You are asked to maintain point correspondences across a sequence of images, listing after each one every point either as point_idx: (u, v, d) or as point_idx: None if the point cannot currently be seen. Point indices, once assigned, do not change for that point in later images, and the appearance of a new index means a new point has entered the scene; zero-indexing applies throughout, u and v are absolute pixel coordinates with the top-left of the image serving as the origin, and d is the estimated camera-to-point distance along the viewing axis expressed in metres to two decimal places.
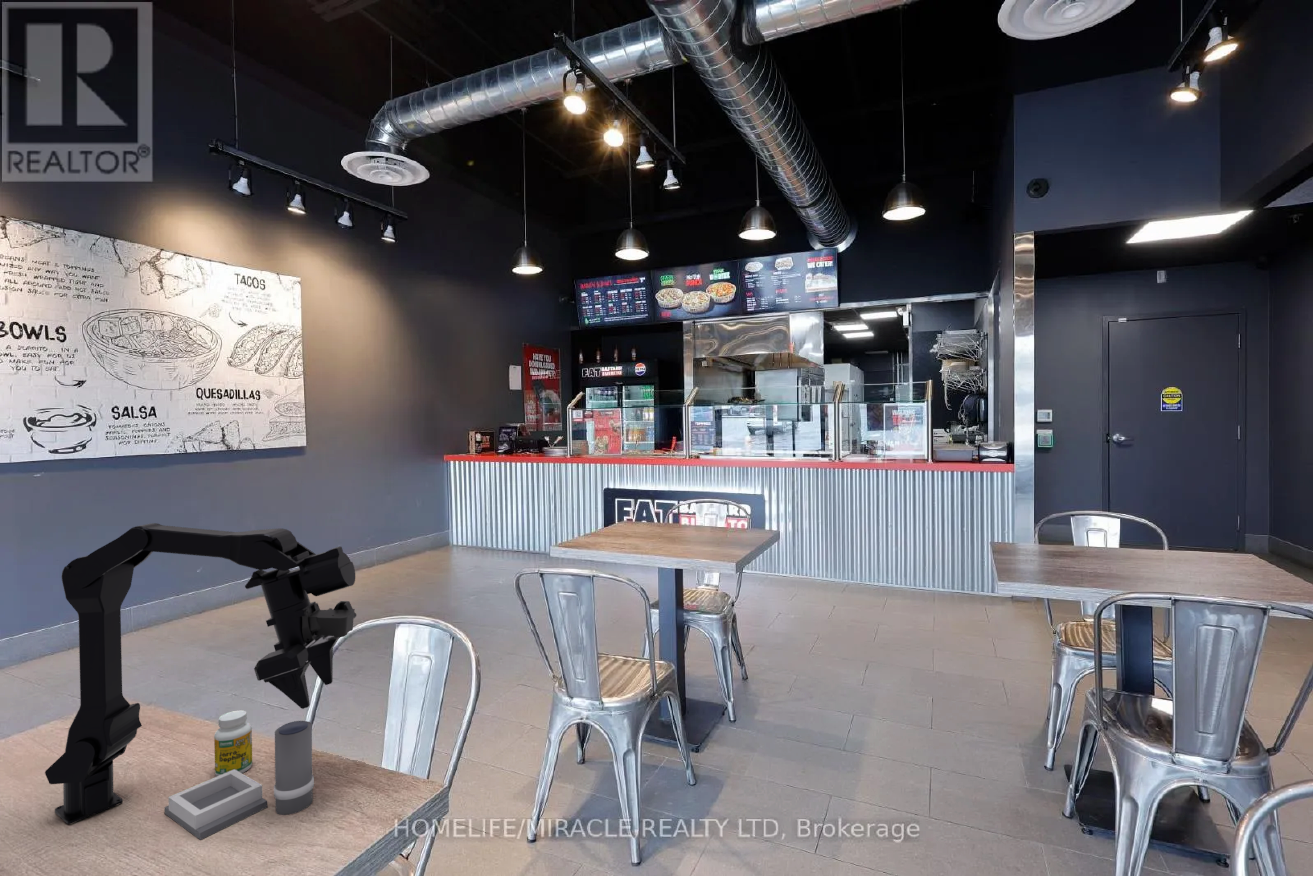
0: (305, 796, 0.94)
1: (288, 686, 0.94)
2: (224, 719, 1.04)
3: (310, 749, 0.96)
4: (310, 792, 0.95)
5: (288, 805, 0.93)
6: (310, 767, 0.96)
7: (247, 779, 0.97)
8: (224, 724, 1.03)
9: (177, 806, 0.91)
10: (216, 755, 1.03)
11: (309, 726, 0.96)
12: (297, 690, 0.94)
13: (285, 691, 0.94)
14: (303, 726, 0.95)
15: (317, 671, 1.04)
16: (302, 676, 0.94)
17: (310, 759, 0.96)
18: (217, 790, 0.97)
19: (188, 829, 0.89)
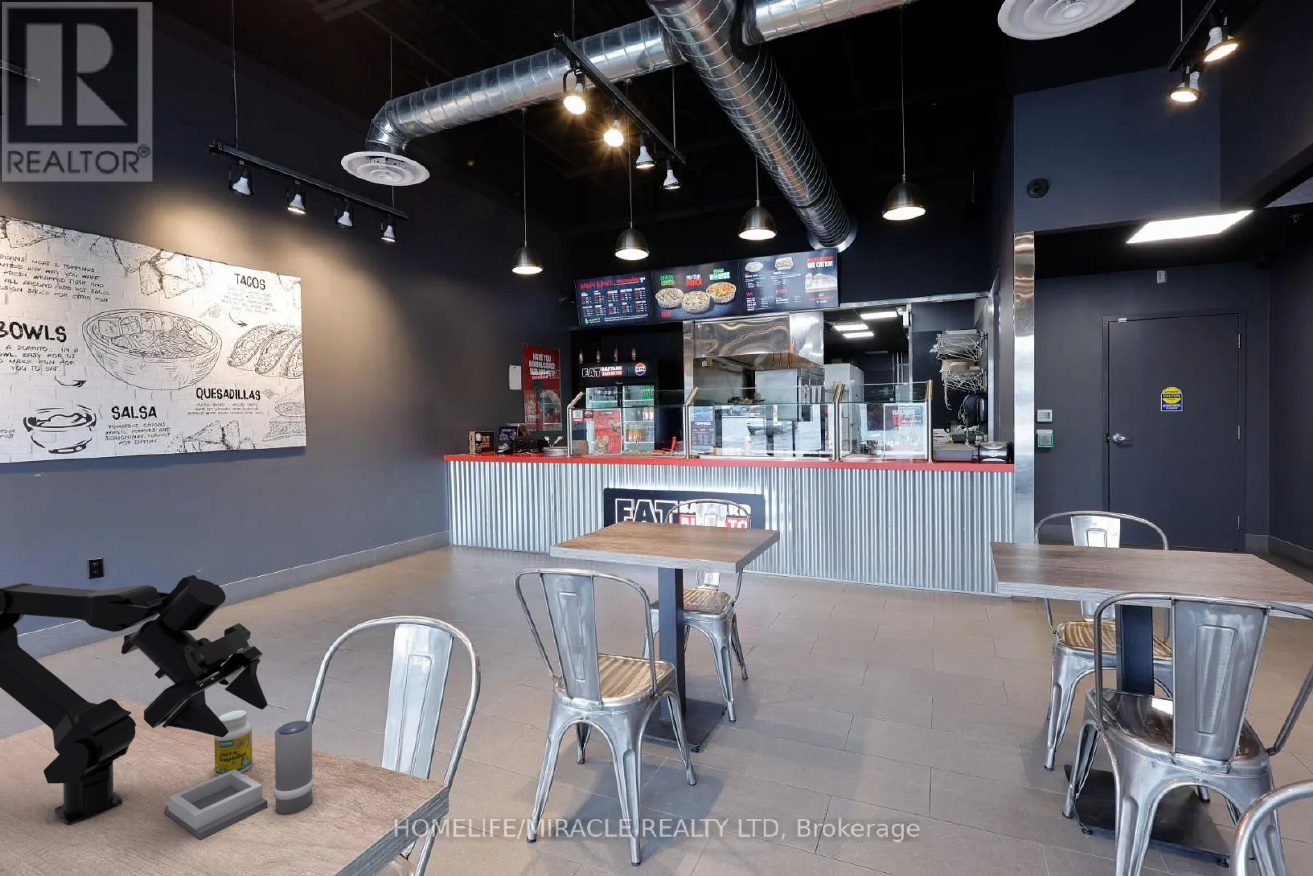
0: (305, 796, 0.94)
1: (195, 722, 0.89)
2: (224, 719, 1.04)
3: (310, 749, 0.96)
4: (310, 792, 0.95)
5: (288, 805, 0.93)
6: (310, 767, 0.96)
7: (247, 779, 0.97)
8: (224, 724, 1.03)
9: (177, 806, 0.91)
10: (216, 755, 1.03)
11: (309, 726, 0.96)
12: (205, 721, 0.90)
13: (195, 728, 0.89)
14: (303, 726, 0.95)
15: (248, 701, 1.00)
16: (202, 707, 0.89)
17: (310, 759, 0.96)
18: (217, 790, 0.97)
19: (188, 829, 0.89)
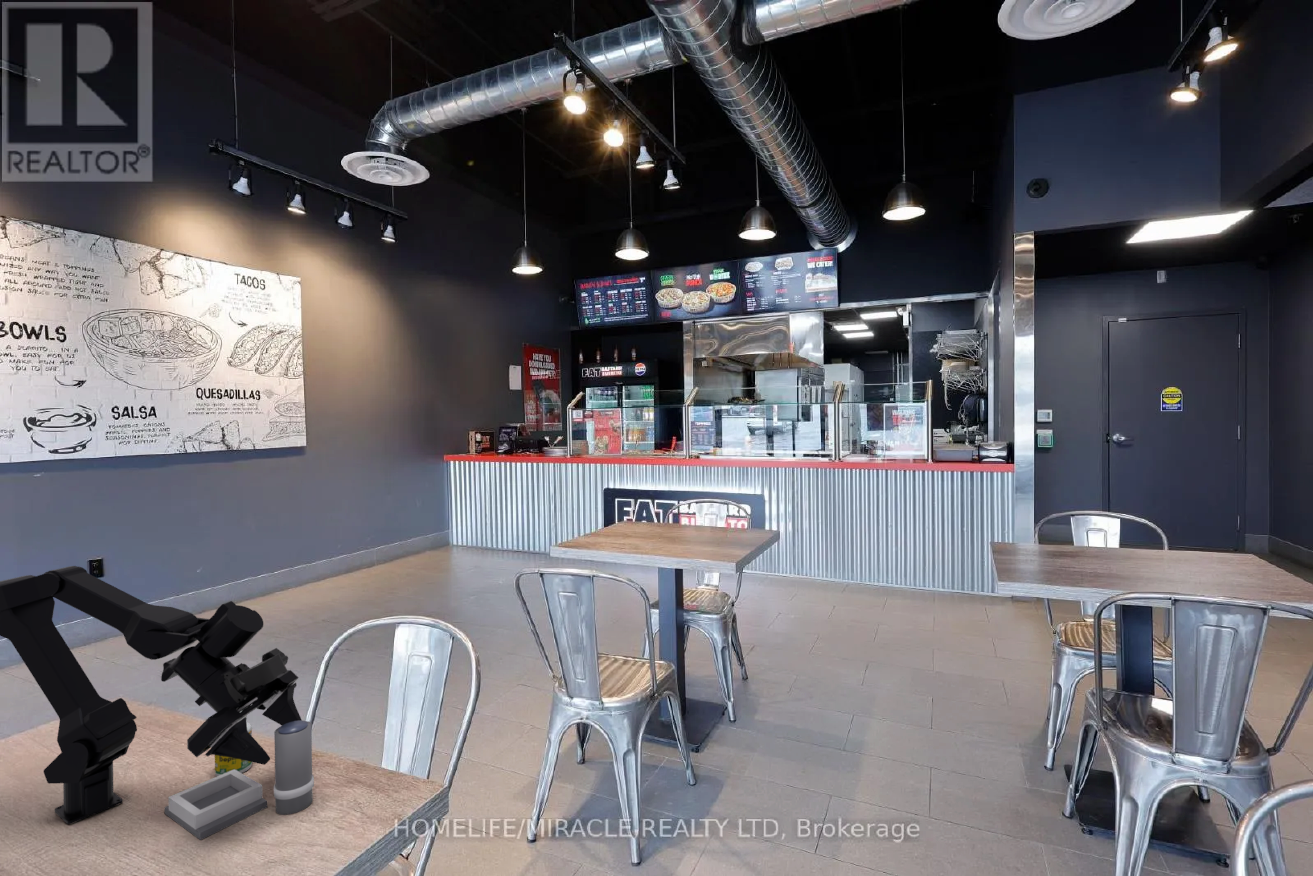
0: (304, 796, 0.94)
1: (237, 750, 0.89)
2: None
3: (310, 749, 0.96)
4: (310, 792, 0.95)
5: (288, 804, 0.93)
6: (310, 767, 0.96)
7: (247, 779, 0.97)
8: None
9: (177, 806, 0.91)
10: (216, 755, 1.03)
11: (309, 726, 0.96)
12: (247, 749, 0.90)
13: (237, 756, 0.89)
14: (303, 726, 0.95)
15: None
16: (244, 734, 0.89)
17: (310, 759, 0.96)
18: (217, 790, 0.97)
19: (188, 829, 0.89)
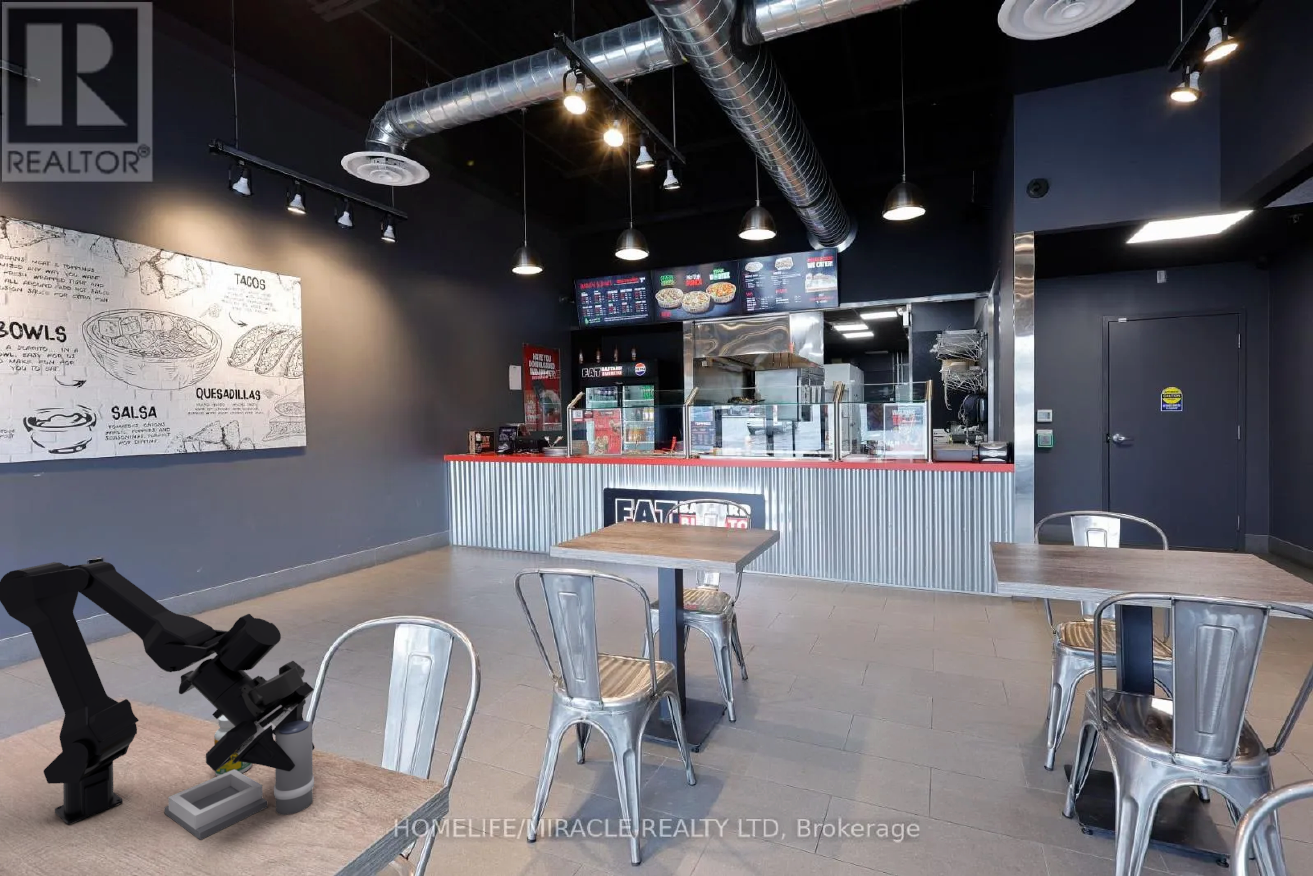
0: (305, 796, 0.94)
1: (263, 757, 0.91)
2: (224, 719, 1.04)
3: (310, 749, 0.96)
4: (310, 792, 0.95)
5: (288, 805, 0.93)
6: (310, 767, 0.96)
7: (247, 779, 0.97)
8: (225, 724, 1.03)
9: (177, 806, 0.91)
10: None
11: (310, 726, 0.96)
12: (273, 756, 0.92)
13: (263, 763, 0.91)
14: (304, 726, 0.95)
15: None
16: (270, 742, 0.91)
17: (310, 759, 0.96)
18: (217, 790, 0.97)
19: (188, 829, 0.89)
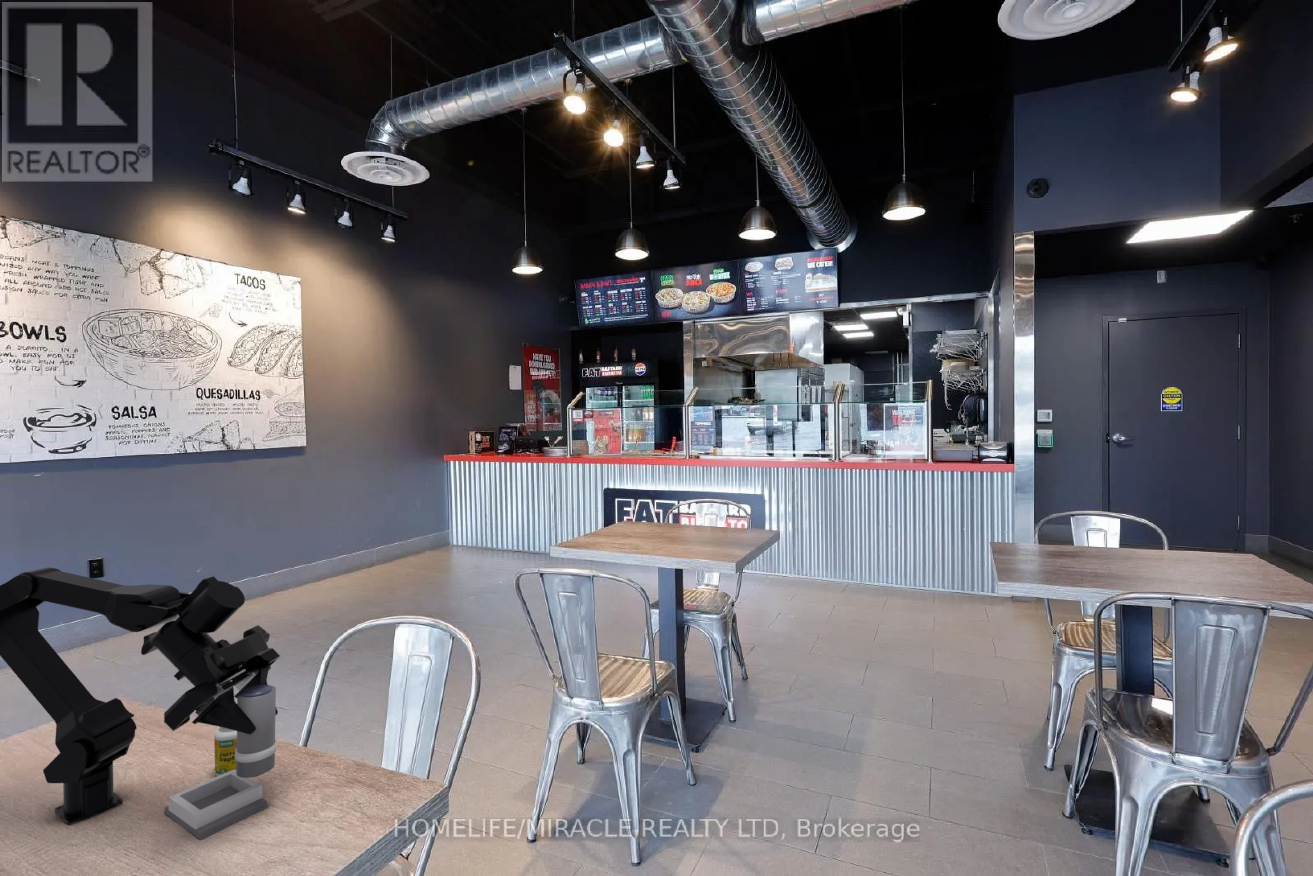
0: (266, 760, 0.94)
1: (223, 719, 0.91)
2: None
3: (273, 713, 0.95)
4: (272, 756, 0.95)
5: (248, 768, 0.92)
6: (273, 731, 0.95)
7: (247, 779, 0.97)
8: None
9: (177, 806, 0.91)
10: (216, 755, 1.03)
11: (273, 690, 0.95)
12: (234, 718, 0.91)
13: (223, 725, 0.91)
14: (267, 690, 0.95)
15: None
16: (231, 704, 0.91)
17: (273, 723, 0.95)
18: (217, 790, 0.97)
19: (188, 829, 0.89)
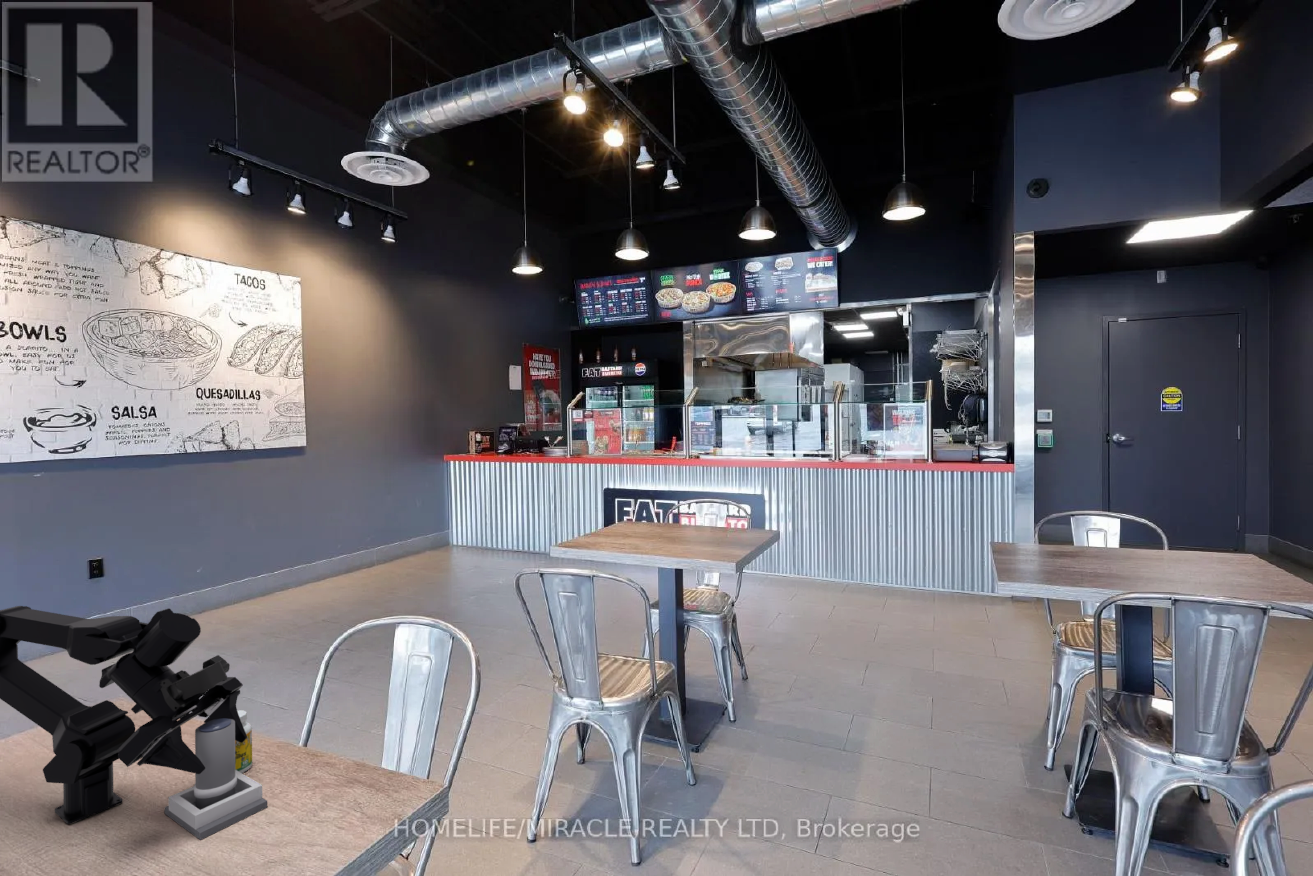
0: (225, 795, 0.93)
1: (171, 759, 0.88)
2: None
3: (232, 747, 0.94)
4: (232, 791, 0.94)
5: (207, 803, 0.92)
6: (232, 765, 0.94)
7: (247, 779, 0.97)
8: None
9: (177, 806, 0.91)
10: None
11: (232, 724, 0.95)
12: (182, 758, 0.88)
13: (171, 765, 0.88)
14: (225, 724, 0.94)
15: None
16: (178, 744, 0.88)
17: (232, 757, 0.94)
18: None
19: (188, 829, 0.89)
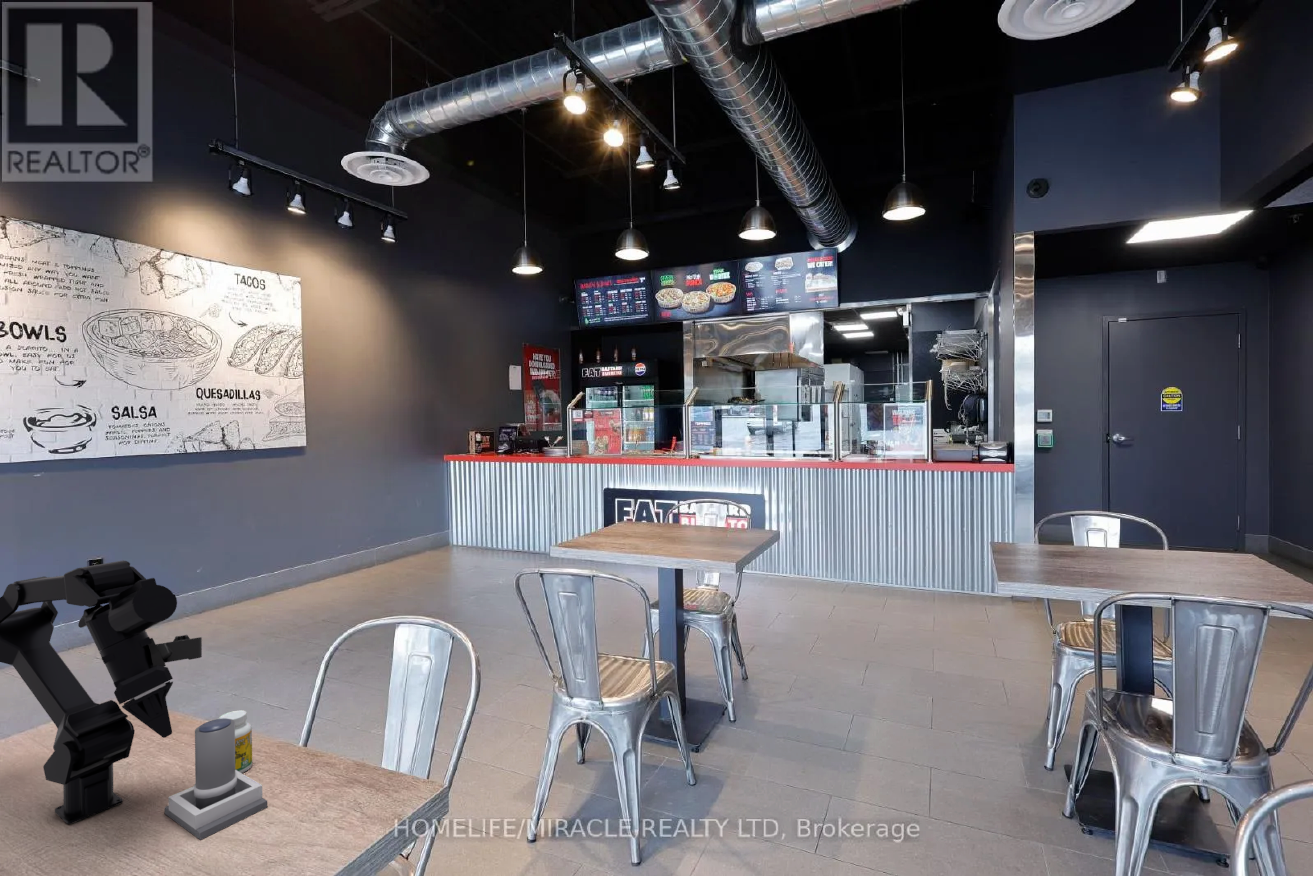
0: (225, 795, 0.93)
1: (148, 713, 0.88)
2: None
3: (232, 747, 0.94)
4: (232, 791, 0.94)
5: (207, 803, 0.92)
6: (232, 765, 0.94)
7: (247, 779, 0.97)
8: None
9: (177, 806, 0.91)
10: None
11: (231, 724, 0.95)
12: (160, 715, 0.89)
13: (145, 719, 0.88)
14: (225, 724, 0.94)
15: None
16: (165, 698, 0.90)
17: (232, 757, 0.94)
18: None
19: (188, 829, 0.89)
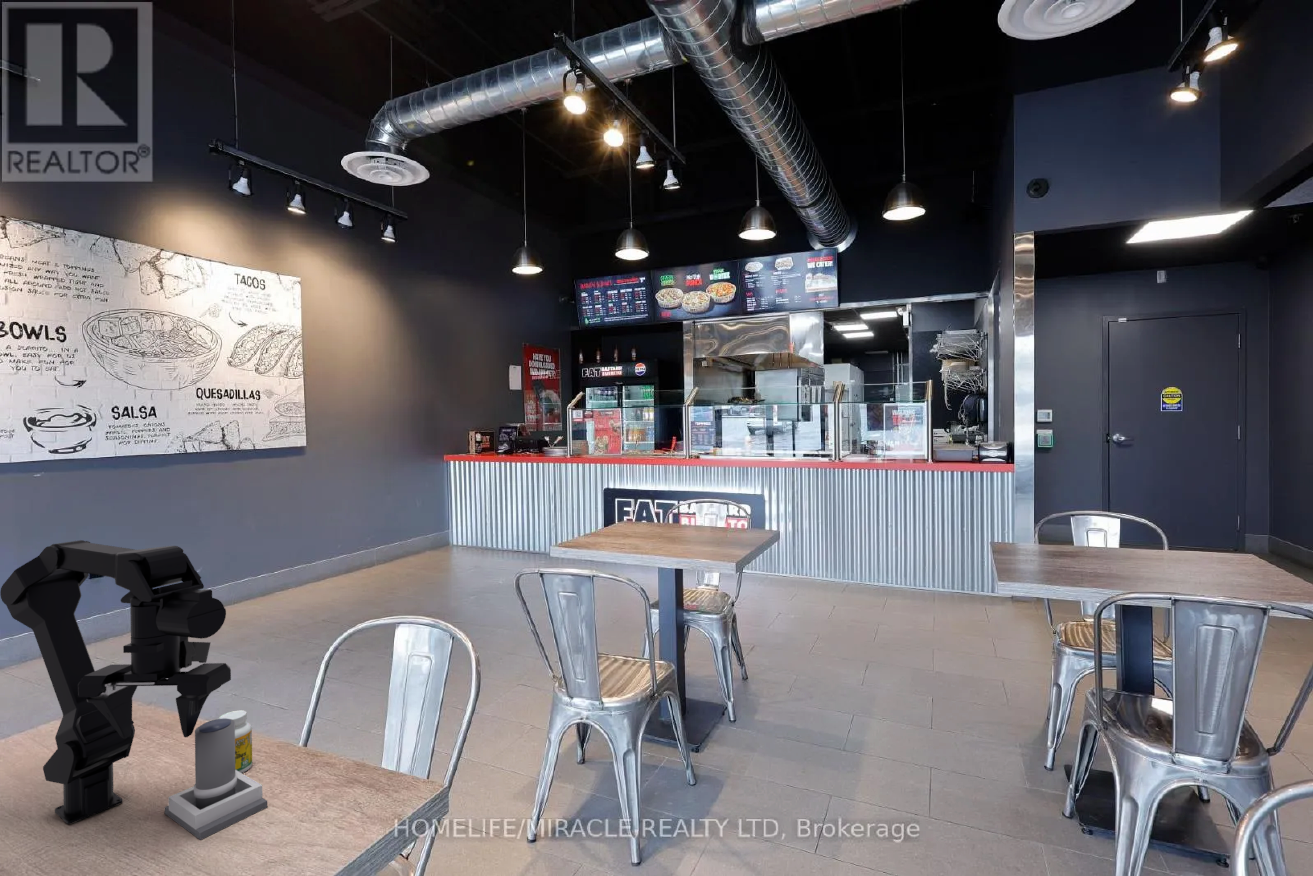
0: (225, 795, 0.93)
1: (191, 709, 0.90)
2: None
3: (232, 747, 0.94)
4: (232, 791, 0.94)
5: (207, 803, 0.92)
6: (232, 765, 0.94)
7: (247, 779, 0.97)
8: None
9: (177, 806, 0.91)
10: None
11: (231, 724, 0.95)
12: (196, 713, 0.91)
13: (189, 715, 0.90)
14: (225, 724, 0.94)
15: (119, 722, 0.90)
16: (203, 697, 0.93)
17: (232, 757, 0.94)
18: None
19: (188, 829, 0.89)
